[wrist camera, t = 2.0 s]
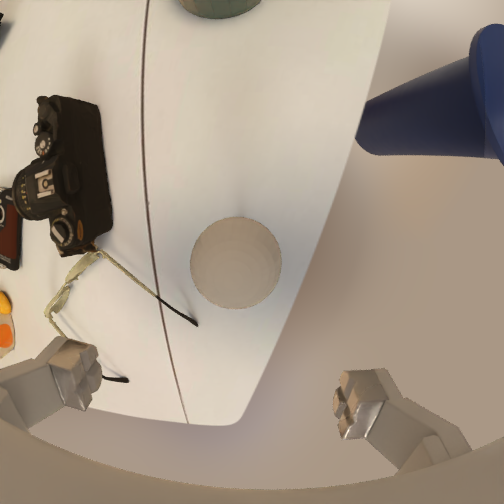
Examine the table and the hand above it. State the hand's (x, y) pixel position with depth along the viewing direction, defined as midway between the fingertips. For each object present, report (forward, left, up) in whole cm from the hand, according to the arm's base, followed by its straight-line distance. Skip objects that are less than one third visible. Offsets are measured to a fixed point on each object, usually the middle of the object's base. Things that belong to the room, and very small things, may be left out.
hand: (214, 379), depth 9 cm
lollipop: (0, 0, -23) cm, 23 cm away
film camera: (+20, -4, -23) cm, 31 cm away
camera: (+33, +2, -23) cm, 40 cm away
